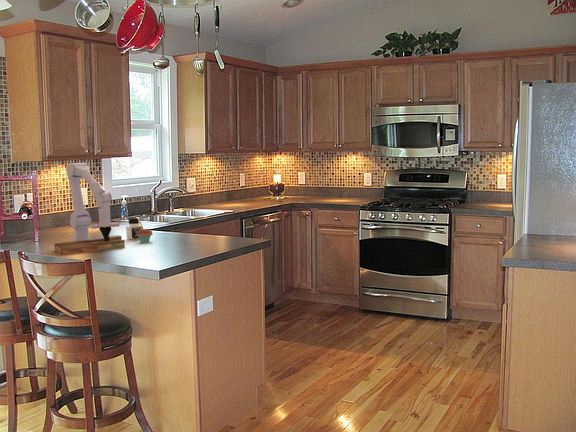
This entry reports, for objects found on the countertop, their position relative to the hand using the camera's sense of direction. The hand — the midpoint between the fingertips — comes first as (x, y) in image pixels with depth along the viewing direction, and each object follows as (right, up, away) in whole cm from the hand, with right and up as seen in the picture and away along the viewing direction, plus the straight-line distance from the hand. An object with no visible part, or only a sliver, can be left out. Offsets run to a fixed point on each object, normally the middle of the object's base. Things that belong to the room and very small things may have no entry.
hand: (106, 241), depth 331 cm
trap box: (-7, -4, -4) cm, 9 cm away
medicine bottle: (+8, 0, +30) cm, 31 cm away
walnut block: (+4, 0, +2) cm, 4 cm away
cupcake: (+16, -1, +17) cm, 23 cm away
